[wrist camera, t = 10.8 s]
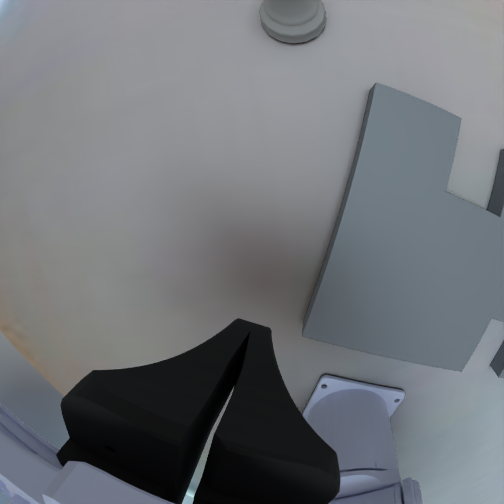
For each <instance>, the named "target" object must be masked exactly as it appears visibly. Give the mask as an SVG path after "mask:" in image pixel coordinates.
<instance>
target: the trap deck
mask: <svg viewBox="0 0 504 504" xmlns="http://www.w3.org/2000/svg"><path fill="white" fill-rule="evenodd" d="M460 124H461V118H460V117H458V116H456V115H454V114H452V113H450V112H448V111H446V110H444V109H441V108H439V107H437V106H435V105H433V104H430V103H428V102H426V101H423V100H421V99H419V98H416V97H414V96H411V95H409V94H406V93H404V92H401V91H399V90H396V89H393V88H391V87H388V86H385V85H382V84H379V83H375V84H374V86H373V87H372V88H371V90H370V93H369V98H368V102H367V107H366V111H365V116H364V120H363V124H362V129H361V133H360V137H359V141H358V145H357V149H356V153H355V157H354V161H353V165H352V168H351V172H350V176H349V180H348V183H347V187H346V190H345V194H344V198H343V201H342V205H341V208H340V211H339V215H338V218H337V222H336V225H335V228H334V231H333V235H332V238H331V241H330V244H329V248H328V251H327V254H326V257H325V260H324V263H323V266H322V269H321V272H320V275H319V278H318V281H317V284H316V287H315V290H314V293H313V296H312V299H311V301H310V304H309V307H308V310H307V313H306V315H305V318H304V321H303V329H302V336H303V337H307V338H311V339H314V340H318V341H322V342H326V343H330V344H333V345H337V346H341V347H345V348H349V349H354V350H358V351H362V352H366V353H370V354H375V355H379V356H384V357H388V358H393V359H397V360H402V361H407V362H412V363H417V364H422V365H427V366H432V367H437V368H443V369H449V370H454V371H460V372H462V370H463V369H464V367H465V365H466V364H467V362H468V361H469V359H470V357H471V355H472V354H473V352H474V350H475V349H476V347H477V345H478V343H479V341H480V340H481V338H482V336H483V334H484V332H485V330H486V328H487V326H488V324H489V322H490V320H491V318H492V319H495V320H499V321H502V322H504V149H503V150H501V153H500V158H499V163H498V168H497V173H496V178H495V182H494V186H493V190H492V194H491V198H490V202H489V206H488V209H487V210H485V209H482V208H480V207H478V206H476V205H474V204H472V203H470V202H468V201H465V200H463V199H461V198H459V197H457V196H454V195H452V194H450V193H447V192H446V188H447V184H448V180H449V176H450V172H451V168H452V164H453V160H454V155H455V150H456V146H457V141H458V135H459V130H460ZM490 366H491V367H492V369H493V370H494V371H495V373H496V374H497V376H498V377H500V378H504V342H503V344H502V346H501V347H500V349H499V351H498V353H497V354H496V356H495V358H494V359H493V361H492V363H491V364H490Z"/></svg>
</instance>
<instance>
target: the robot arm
mask: <svg viewBox="0 0 504 504" xmlns="http://www.w3.org/2000/svg"><path fill="white" fill-rule="evenodd" d="M271 332H272V331H271V329H270V328H269V327H265V326H262V325H259V324H255V323H252V322H249V321H245V320H242V319H239V318H238V319H236V320H234V321H233V322H232V323H231V324H230V325H229V326H227V327H226V328H225V329H223V330H222V331H221V332H219V333H218V334H216V335H215V336H213V337H212V338H210V339H209V340H207V341H206V342H204V343H202V344H200V345H198V346H197V347H195V348H193V349H191V350H189V351H187V352H185V353H182V354H180V355H178V356H175V357H173V358H170V359H167V360H163V361H160V362H157V363H153V364H149V365H144V366H139V367H133V368H126V369H114V370H93V371H92V372H91V373H89V374H88V375H87V376H85V377H84V378H83V379H82V380H81V381H80V382H79V383H78V384H77V385H76V386H75V387H74V388H73V389H72V390H71V391H70V392H69V393H68V394H67V395H66V396H65V397H64V398H63V399H62V402H61V410H62V415H63V419H64V422H65V425H66V428H67V431H68V434H69V437H70V438H69V440H68V441H67V442H66V443H65V444H64V445H63V447H62V448H61V449H60V450H59V449H58V448H56V447H55V446H53V445H52V444H51V443H49V442H48V441H46V440H45V439H44V438H42V437H41V436H40V435H38V434H37V433H36V432H34V431H33V430H32V429H31V428H29V427H28V426H27V425H26V424H24V423H23V422H22V421H21V420H19V419H18V418H17V417H16V416H15V415H13V414H12V413H11V412H10V411H9V410H8V409H7V408H5V406H3V405H2V404H1V403H0V490H1V491H2V492H3V493H4V494H5V495H6V496H7V497H8V498H9V499H10V501H9V502H8V503H7V504H182V501H183V499H184V497H185V494H186V492H187V489H188V487H189V484H190V482H191V479H192V477H193V474H194V472H195V469H196V467H197V464H198V462H199V459H200V457H201V454H202V452H203V449H204V447H205V444H206V442H207V439H208V437H209V434H210V432H211V430H212V428H213V426H214V424H215V422H216V420H217V418H218V416H219V414H220V412H221V410H222V408H223V406H224V405H225V403H226V401H227V399H228V397H229V395H230V393H231V391H232V389H233V387H234V390H233V393H232V396H231V398H230V400H229V403H228V405H227V407H226V410H225V412H224V414H223V416H222V418H221V420H220V423H219V425H218V427H217V429H216V431H215V433H214V436H213V440H212V443H211V447H210V451H209V454H208V458H207V461H206V465H205V468H204V472H203V475H202V478H201V481H200V483H199V486H198V488H197V490H196V493H195V496H194V501H193V504H423V502H422V496H421V491H420V485H419V482H417V481H415V480H412V478H411V477H408V478H406V479H404V480H402V481H403V485H402V482H401V478H400V474H399V469H398V463H397V457H396V451H395V445H394V440H393V434H392V429H391V424H390V419H389V418H390V417H391V415H392V414H393V413H394V411H395V410H396V408H397V407H398V406H399V404H400V403H401V401H402V400H403V398H404V397H405V393H404V391H403V390H399V389H393V388H387V387H382V386H377V385H372V384H367V383H362V382H357V381H352V380H348V379H343V378H339V377H334V376H330V375H324V376H322V377H321V378H320V380H319V382H318V384H317V386H316V388H315V390H314V392H313V394H312V396H311V398H310V400H309V402H308V404H307V406H306V408H305V410H304V412H303V413H302V414H301V413H300V411H299V410H298V408H297V407H296V405H295V403H294V402H293V400H292V398H291V396H290V394H289V392H288V390H287V388H286V386H285V384H284V381H283V379H282V376H281V374H280V371H279V368H278V365H277V361H276V358H275V354H274V350H273V344H272V336H271ZM323 384H326V385H325V386H322V385H323ZM234 385H235V386H234ZM395 399H397V400H395Z"/></svg>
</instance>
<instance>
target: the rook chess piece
mask: <svg viewBox="0 0 504 504" xmlns="http://www.w3.org/2000/svg"><path fill="white" fill-rule="evenodd" d="M259 13H260V18H261V22H262V27H263V28H264V29H265V30H266V32H267V33H268V34H269V35H270V36H272V37H274V38H276V39H277V40H279V41H283V42H288V43H300V42H307V41H309V40H311V39H313V38H315V37H317V36H318V35H319V34H320V33H321V31H322V30H323V29H324V28H325V23H326V19H327V18H326V15H325V14H326V12H325V9H324V5H323V3H322V1H321V0H263V1H262V4H261V7H260V11H259Z"/></svg>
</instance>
